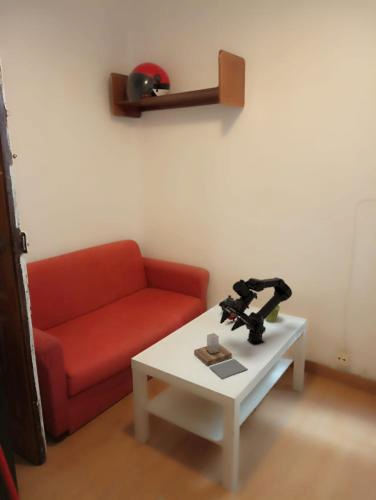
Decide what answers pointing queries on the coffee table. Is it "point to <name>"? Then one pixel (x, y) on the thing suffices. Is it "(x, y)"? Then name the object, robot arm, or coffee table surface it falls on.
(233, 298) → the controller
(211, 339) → the steel key bar
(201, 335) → the coffee table surface
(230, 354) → the brown wooden frame
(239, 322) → the robot arm
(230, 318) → the decorative bird figurine
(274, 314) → the plant pot
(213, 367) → the grey mat
